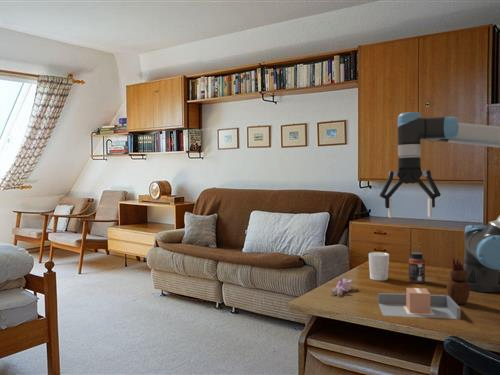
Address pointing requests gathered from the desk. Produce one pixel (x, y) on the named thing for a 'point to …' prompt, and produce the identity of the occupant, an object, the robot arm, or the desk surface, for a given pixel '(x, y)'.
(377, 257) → the white cup
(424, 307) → the cube
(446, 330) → the desk surface
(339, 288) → the rabbit figure
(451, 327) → the desk surface
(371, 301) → the desk surface
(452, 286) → the wooden figurine
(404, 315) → the tray
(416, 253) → the supplement bottle
